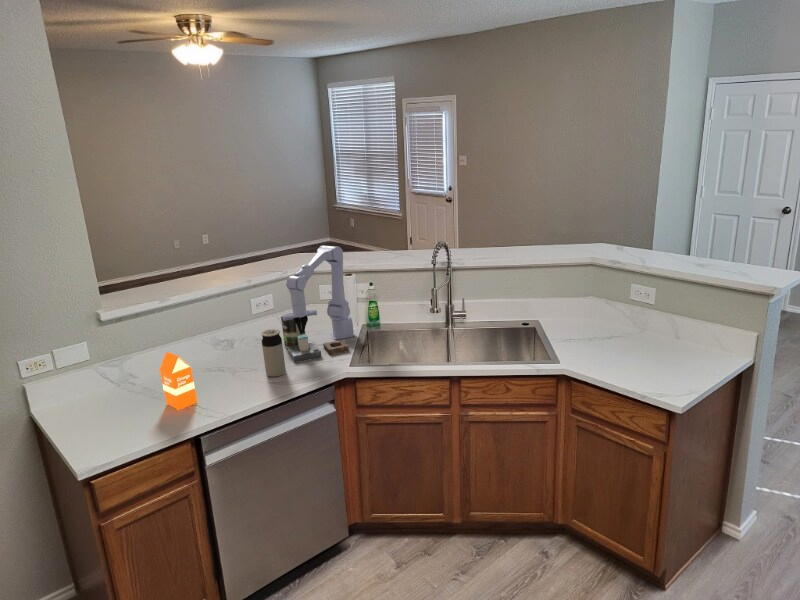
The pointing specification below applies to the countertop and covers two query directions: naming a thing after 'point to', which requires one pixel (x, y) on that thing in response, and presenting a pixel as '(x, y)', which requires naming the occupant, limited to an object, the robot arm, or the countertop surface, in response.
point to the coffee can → (290, 332)
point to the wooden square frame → (335, 347)
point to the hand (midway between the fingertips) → (302, 333)
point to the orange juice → (177, 382)
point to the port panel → (304, 353)
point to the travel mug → (273, 353)
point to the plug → (303, 342)
